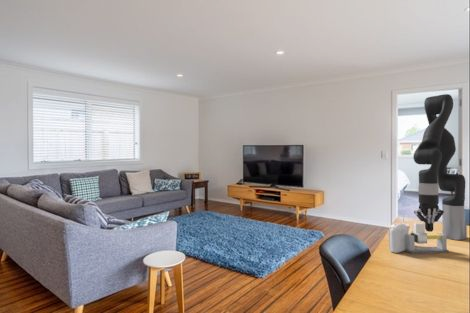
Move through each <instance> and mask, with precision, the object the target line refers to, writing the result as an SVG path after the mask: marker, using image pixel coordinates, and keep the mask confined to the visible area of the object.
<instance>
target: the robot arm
mask: <svg viewBox="0 0 470 313" xmlns="http://www.w3.org/2000/svg"><path fill="white" fill-rule="evenodd" d="M423 105H424V110H425V114H426V119H427V121H428V125H427V127H426V128H425V130H424V133H423V135H422V140H421V142H420V143H419V145H418V146H417V148H416V150H415V151H414V153H413V161H414V162H415V164H417V165H430V167H429V168H427V169H421V170H419V171H418V189H417V190H418V203H419V206H418V209H416V210H414V211H413V213H414V215H416V217H417V218H418V219H419V221H420V222H422V223H424V224H425V232H428V233H430V232H433V231H434V224H435V223H437V222H438V221H439V220H440V219H442V223H441V224H442V225H441V226H442V234H445V235H446V237H447V240H448V239H449V240H456V241H463V240H466V239H467V238H468V235H467V229H468V228H467V220H466V219H465V217H466V216H465V200H466V178H465V176H464V174H460V173H459V174H457V173H448V172H447V171H448V170H447V169H448V168H447V167H448V164H449V163H450V161H451V160H452V158H453V157H454V155H455V154H456V152H457V151H456V150H457V148H456V142H455V137H454V135H453V134H452V133H451V132H450V131H449V130H448V129H447V128H446V127H445V126H446V124H447V123H448V120H449V119H450V116H451V114H452V111H453V110H454V109H453V108H454V99H453V97H452V94H451V95H450V94H445V93H444V94H439V95H434V96H428V97H426V98H425V99H424V104H423ZM437 115H438V116H437ZM439 189H440V191H442V192H450V193H451V192H453V193H454V195H451V196H448V197H445V198H442V199H441V202H442V203H441V209H442V210H441V209H440V207H439V202H440V201H439V200H440V199H439V195H440V194H439ZM441 217H442V218H441Z"/></svg>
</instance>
